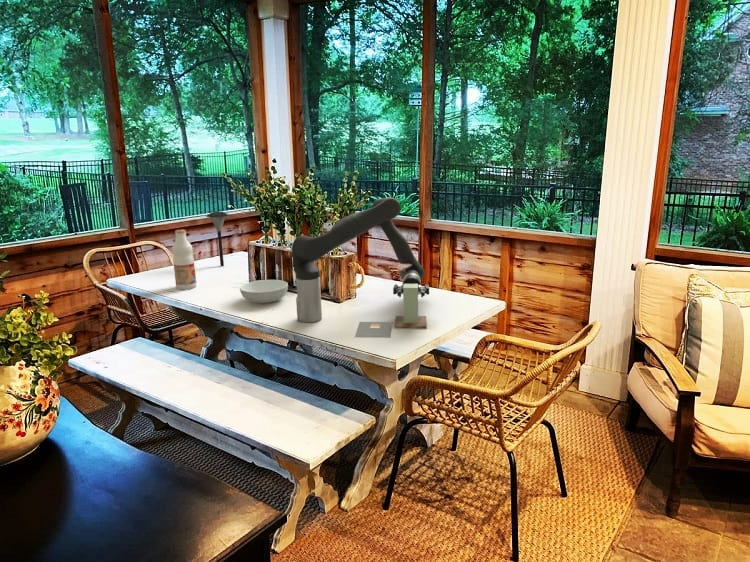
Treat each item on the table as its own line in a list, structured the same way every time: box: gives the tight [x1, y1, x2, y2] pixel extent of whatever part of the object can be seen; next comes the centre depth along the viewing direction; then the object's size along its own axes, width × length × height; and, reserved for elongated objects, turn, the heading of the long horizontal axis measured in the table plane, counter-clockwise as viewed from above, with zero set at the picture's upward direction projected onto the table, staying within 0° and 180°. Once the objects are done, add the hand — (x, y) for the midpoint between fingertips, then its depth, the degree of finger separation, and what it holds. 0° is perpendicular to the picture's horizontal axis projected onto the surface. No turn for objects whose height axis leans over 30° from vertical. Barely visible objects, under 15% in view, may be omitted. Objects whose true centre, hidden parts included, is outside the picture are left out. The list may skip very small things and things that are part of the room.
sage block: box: [402, 283, 419, 323], centre depth 217 cm, size 6×6×14 cm
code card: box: [354, 321, 393, 339], centre depth 213 cm, size 13×17×1 cm
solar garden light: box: [206, 211, 230, 267], centre depth 311 cm, size 12×12×30 cm
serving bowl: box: [239, 279, 289, 304], centre depth 251 cm, size 21×21×7 cm
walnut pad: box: [394, 315, 428, 330], centre depth 219 cm, size 12×12×1 cm
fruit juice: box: [171, 229, 197, 290], centre depth 271 cm, size 9×9×28 cm
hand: (411, 294), depth 219 cm, fingers open, 8 cm apart
